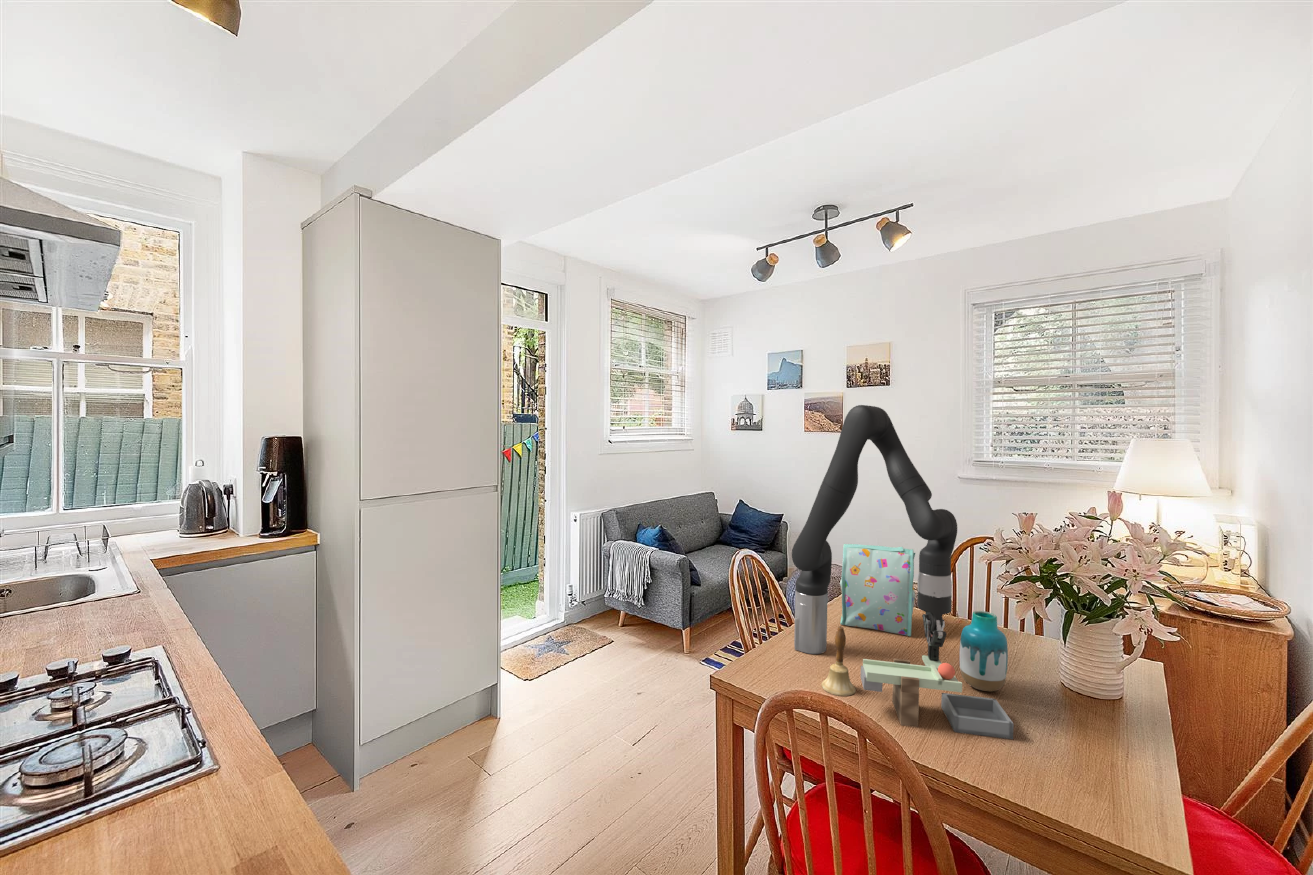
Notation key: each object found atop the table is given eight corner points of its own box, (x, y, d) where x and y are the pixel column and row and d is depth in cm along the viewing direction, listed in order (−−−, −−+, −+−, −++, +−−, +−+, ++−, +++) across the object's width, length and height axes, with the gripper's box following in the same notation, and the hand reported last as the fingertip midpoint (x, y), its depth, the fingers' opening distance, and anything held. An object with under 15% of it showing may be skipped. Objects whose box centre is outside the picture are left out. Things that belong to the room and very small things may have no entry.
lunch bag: (913, 621, 186) (915, 542, 185) (914, 639, 171) (916, 554, 170) (842, 610, 196) (843, 535, 194) (837, 627, 181) (838, 546, 179)
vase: (990, 702, 135) (992, 625, 134) (949, 682, 144) (951, 610, 143) (1015, 692, 140) (1018, 617, 139) (974, 674, 149) (977, 604, 148)
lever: (864, 690, 128) (865, 669, 128) (855, 661, 143) (856, 642, 143) (961, 702, 123) (962, 681, 123) (942, 670, 138) (943, 651, 138)
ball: (939, 680, 126) (940, 665, 125) (935, 673, 129) (936, 659, 129) (956, 683, 125) (957, 668, 125) (951, 676, 128) (953, 661, 128)
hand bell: (857, 684, 143) (858, 623, 143) (853, 699, 136) (855, 635, 135) (824, 677, 147) (825, 618, 146) (819, 691, 139) (820, 629, 139)
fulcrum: (900, 724, 125) (902, 678, 124) (892, 701, 135) (893, 658, 134) (918, 727, 124) (919, 680, 123) (908, 703, 134) (909, 659, 134)
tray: (954, 731, 122) (954, 716, 122) (941, 706, 133) (941, 692, 132) (1012, 739, 120) (1013, 723, 119) (995, 713, 130) (995, 698, 130)
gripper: (911, 581, 143) (911, 647, 144) (924, 598, 130) (923, 670, 131) (943, 583, 142) (942, 649, 142) (959, 600, 129) (958, 673, 130)
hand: (933, 659), depth 137 cm, fingers closed
